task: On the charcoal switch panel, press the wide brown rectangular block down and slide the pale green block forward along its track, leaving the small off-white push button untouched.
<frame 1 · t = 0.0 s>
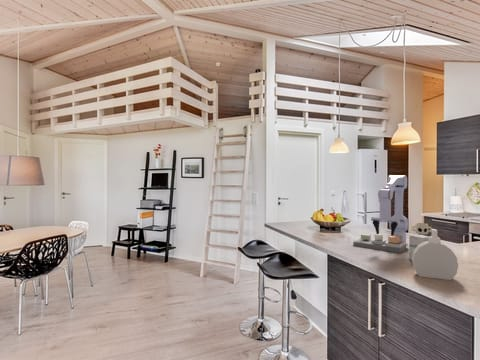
hand: (384, 234, 167), 10 cm above the countertop, tool pointing down, fingers open, 7 cm apart
pale green block: (365, 236, 190), point 4 cm above the countertop, slide at 0.0 cm
supplement box: (419, 260, 152), on the countertop
off-white button: (378, 237, 181), point 6 cm above the countertop, slide at 0.0 cm
switch panel: (379, 247, 181), on the countertop
brown rectangular block: (395, 238, 175), point 6 cm above the countertop, slide at 0.0 cm
soap bottle: (433, 277, 127), on the countertop
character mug: (421, 244, 191), on the countertop
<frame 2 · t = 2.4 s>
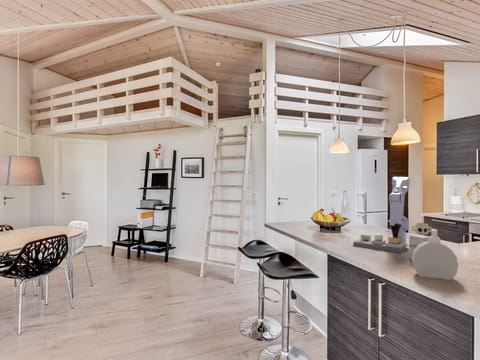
hand: (395, 236, 175), 8 cm above the countertop, tool pointing down, fingers closed, pressing on brown rectangular block
brown rectangular block: (395, 239, 175), point 6 cm above the countertop, slide at 0.0 cm, touching gripper
everything else where it was.
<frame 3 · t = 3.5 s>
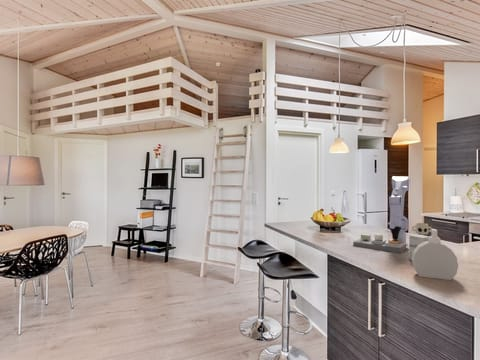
hand: (395, 239, 175), 6 cm above the countertop, tool pointing down, fingers closed
brown rectangular block: (395, 242, 175), point 4 cm above the countertop, slide at 1.9 cm
everything else where it was.
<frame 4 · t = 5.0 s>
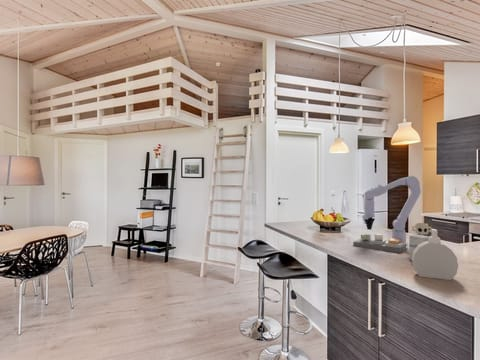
hand: (369, 229, 194), 8 cm above the countertop, tool pointing down, fingers closed
nothing on the countertop moved.
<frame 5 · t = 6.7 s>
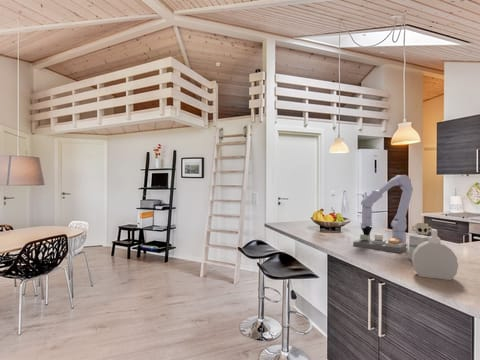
hand: (366, 238, 191), 3 cm above the countertop, tool pointing down, fingers closed
pale green block: (365, 237, 189), point 4 cm above the countertop, slide at 1.2 cm, touching gripper
everything else where it was.
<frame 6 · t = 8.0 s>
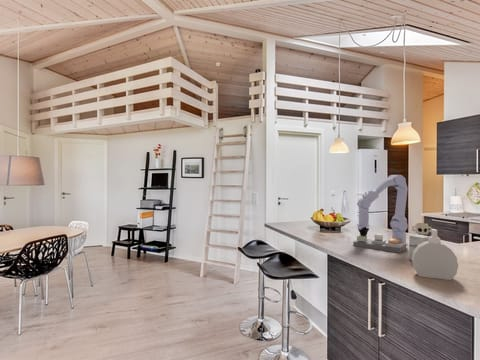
hand: (363, 239, 187), 3 cm above the countertop, tool pointing down, fingers closed
pale green block: (361, 238, 184), point 4 cm above the countertop, slide at 6.8 cm, touching gripper
everything else where it was.
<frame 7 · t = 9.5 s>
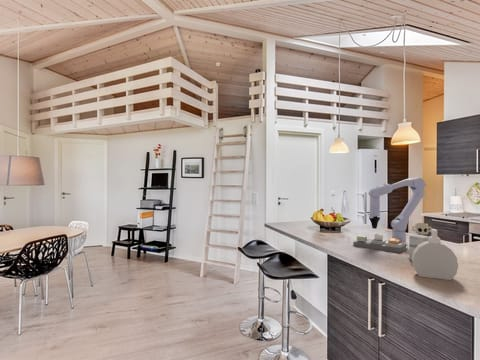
hand: (374, 228, 190), 10 cm above the countertop, tool pointing down, fingers closed
pale green block: (361, 238, 184), point 4 cm above the countertop, slide at 6.8 cm
everything else where it was.
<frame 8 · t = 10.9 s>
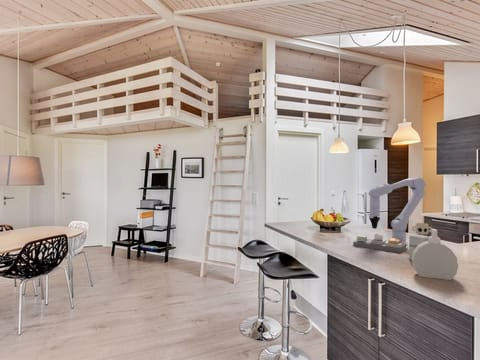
hand: (374, 228, 190), 10 cm above the countertop, tool pointing down, fingers closed
nothing on the countertop moved.
at the end: brown rectangular block slide at 1.9 cm; pale green block slide at 6.8 cm; off-white button slide at 0.0 cm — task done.
